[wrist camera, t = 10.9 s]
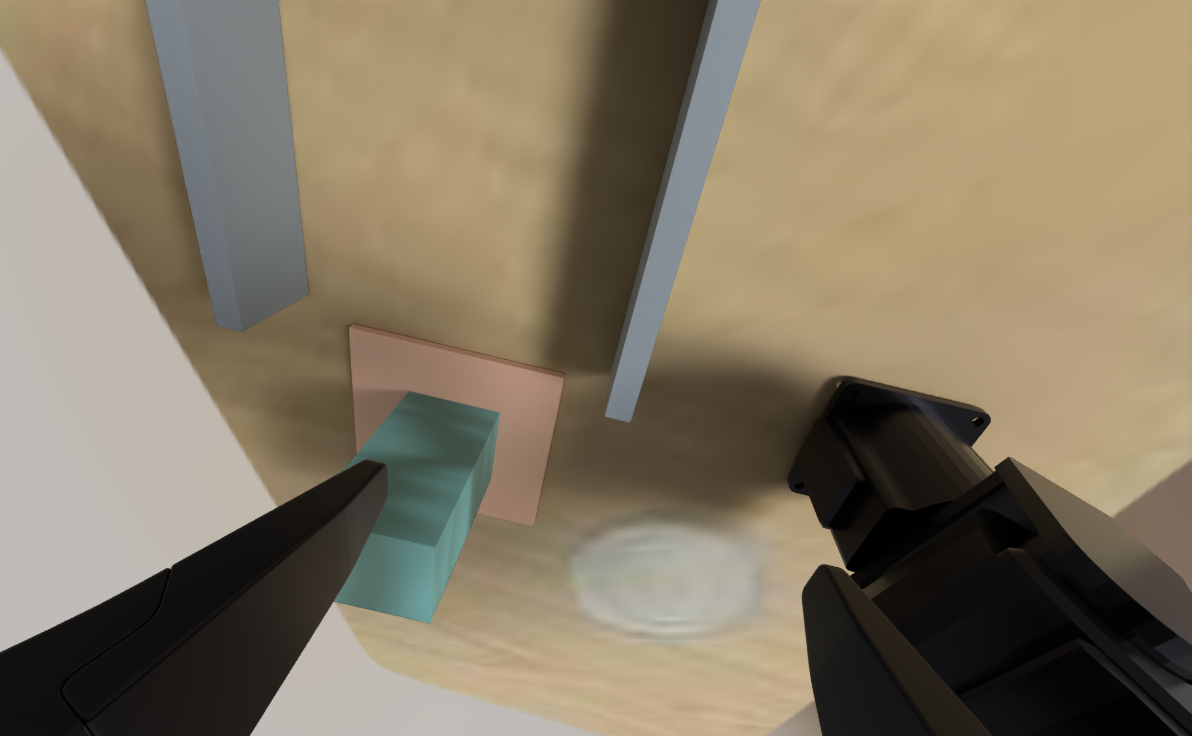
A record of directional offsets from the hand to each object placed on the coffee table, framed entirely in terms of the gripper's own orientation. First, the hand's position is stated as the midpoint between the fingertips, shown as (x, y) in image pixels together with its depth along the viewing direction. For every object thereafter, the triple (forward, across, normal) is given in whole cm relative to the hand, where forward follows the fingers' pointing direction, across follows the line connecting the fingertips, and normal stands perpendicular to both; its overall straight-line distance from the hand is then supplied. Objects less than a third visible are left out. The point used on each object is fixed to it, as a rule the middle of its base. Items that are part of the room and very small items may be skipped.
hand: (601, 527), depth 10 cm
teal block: (+12, +7, +9) cm, 16 cm away
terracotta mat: (+12, +7, +9) cm, 17 cm away
